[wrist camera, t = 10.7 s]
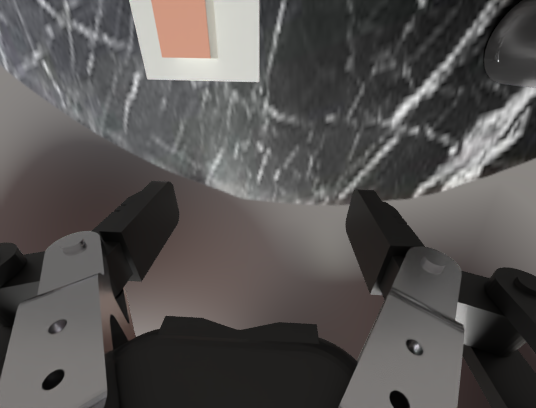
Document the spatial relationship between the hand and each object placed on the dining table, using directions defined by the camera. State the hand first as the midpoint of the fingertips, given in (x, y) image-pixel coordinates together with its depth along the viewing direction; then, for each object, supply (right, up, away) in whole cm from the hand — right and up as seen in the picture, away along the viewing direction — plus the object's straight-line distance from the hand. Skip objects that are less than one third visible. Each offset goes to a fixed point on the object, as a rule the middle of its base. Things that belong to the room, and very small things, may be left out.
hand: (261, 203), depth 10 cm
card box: (-9, +23, +16) cm, 29 cm away
